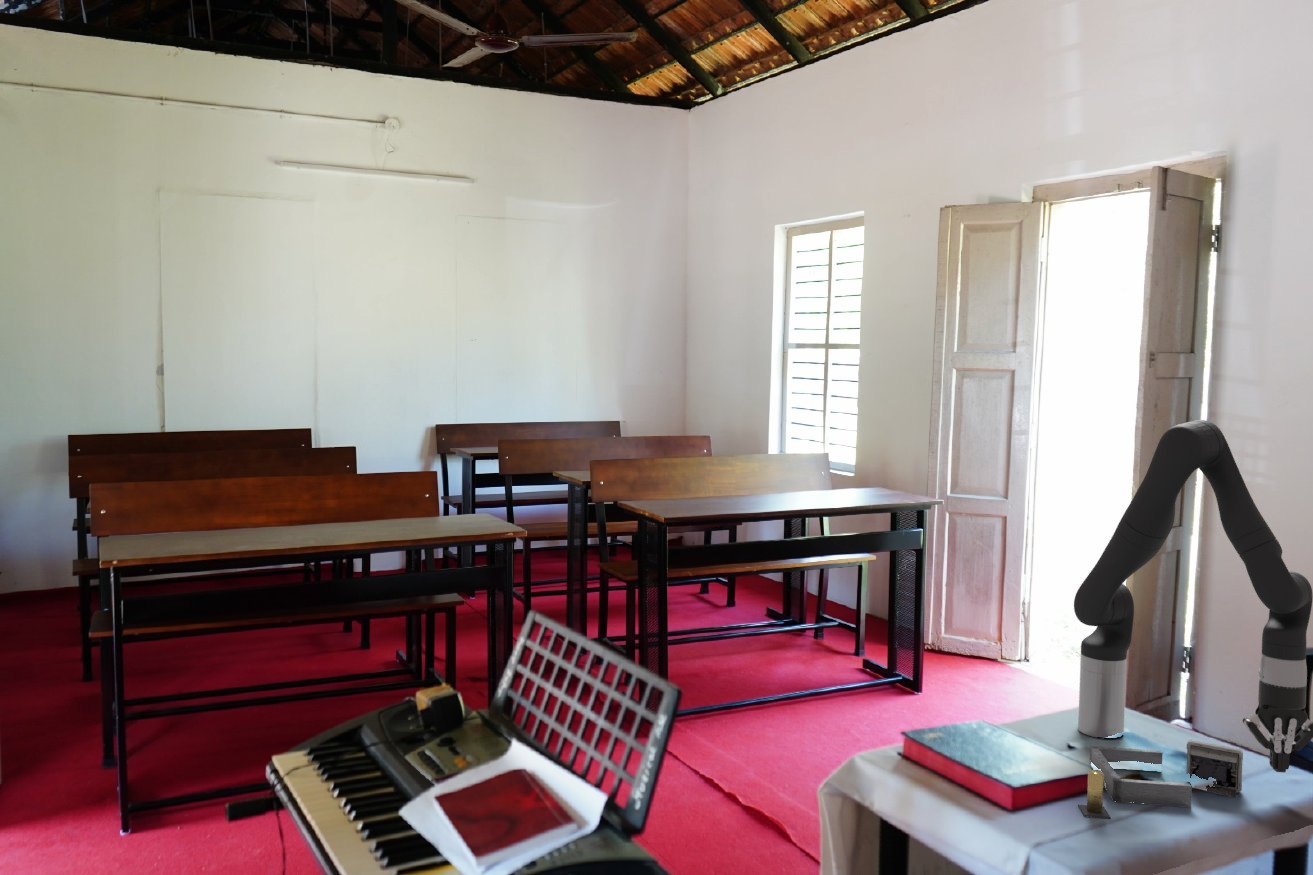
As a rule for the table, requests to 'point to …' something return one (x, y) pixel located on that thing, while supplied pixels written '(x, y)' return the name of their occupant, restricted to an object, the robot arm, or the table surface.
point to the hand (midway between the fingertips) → (1279, 770)
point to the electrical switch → (1216, 766)
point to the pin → (1095, 791)
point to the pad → (1089, 814)
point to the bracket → (1138, 788)
